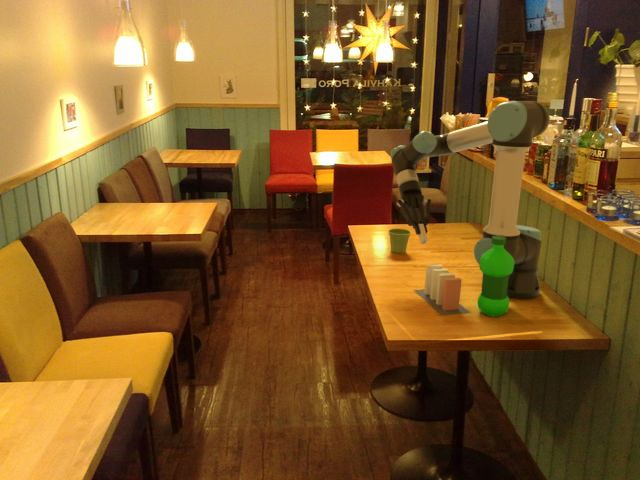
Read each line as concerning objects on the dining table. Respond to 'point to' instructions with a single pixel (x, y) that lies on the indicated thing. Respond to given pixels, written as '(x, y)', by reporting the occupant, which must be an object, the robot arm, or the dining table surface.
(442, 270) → the domino
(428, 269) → the domino
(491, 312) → the plastic bottle
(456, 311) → the mat
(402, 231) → the plant pot
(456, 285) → the domino
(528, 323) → the dining table surface
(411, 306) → the dining table surface
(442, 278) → the domino
